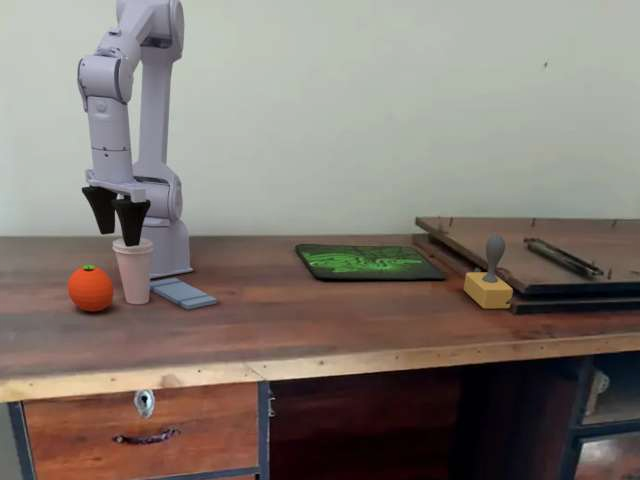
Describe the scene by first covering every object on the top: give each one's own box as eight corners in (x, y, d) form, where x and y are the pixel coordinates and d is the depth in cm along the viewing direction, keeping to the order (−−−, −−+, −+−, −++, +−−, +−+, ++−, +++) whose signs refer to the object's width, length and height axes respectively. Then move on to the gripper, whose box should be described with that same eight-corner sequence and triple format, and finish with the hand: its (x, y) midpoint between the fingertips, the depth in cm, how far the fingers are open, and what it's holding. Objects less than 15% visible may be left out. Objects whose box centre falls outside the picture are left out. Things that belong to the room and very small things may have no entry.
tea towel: (175, 281, 140) (174, 277, 140) (217, 303, 133) (217, 298, 132) (145, 287, 136) (145, 282, 136) (187, 309, 129) (186, 305, 129)
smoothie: (164, 298, 132) (159, 214, 125) (143, 309, 127) (136, 222, 120) (132, 291, 134) (124, 207, 126) (109, 302, 129) (100, 215, 121)
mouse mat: (412, 248, 172) (413, 243, 171) (449, 280, 154) (450, 275, 154) (292, 248, 163) (292, 243, 163) (316, 282, 146) (317, 276, 146)
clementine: (72, 300, 128) (66, 257, 124) (116, 300, 130) (112, 258, 126) (69, 318, 122) (63, 273, 118) (115, 317, 123) (110, 273, 120)
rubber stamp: (510, 308, 144) (523, 243, 137) (482, 308, 142) (493, 243, 136) (489, 290, 152) (500, 228, 145) (462, 290, 150) (472, 227, 144)
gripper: (62, 140, 118) (74, 231, 125) (111, 158, 110) (120, 254, 117) (105, 137, 122) (113, 226, 129) (155, 155, 114) (161, 248, 121)
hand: (119, 239), depth 124 cm, fingers open, 7 cm apart
